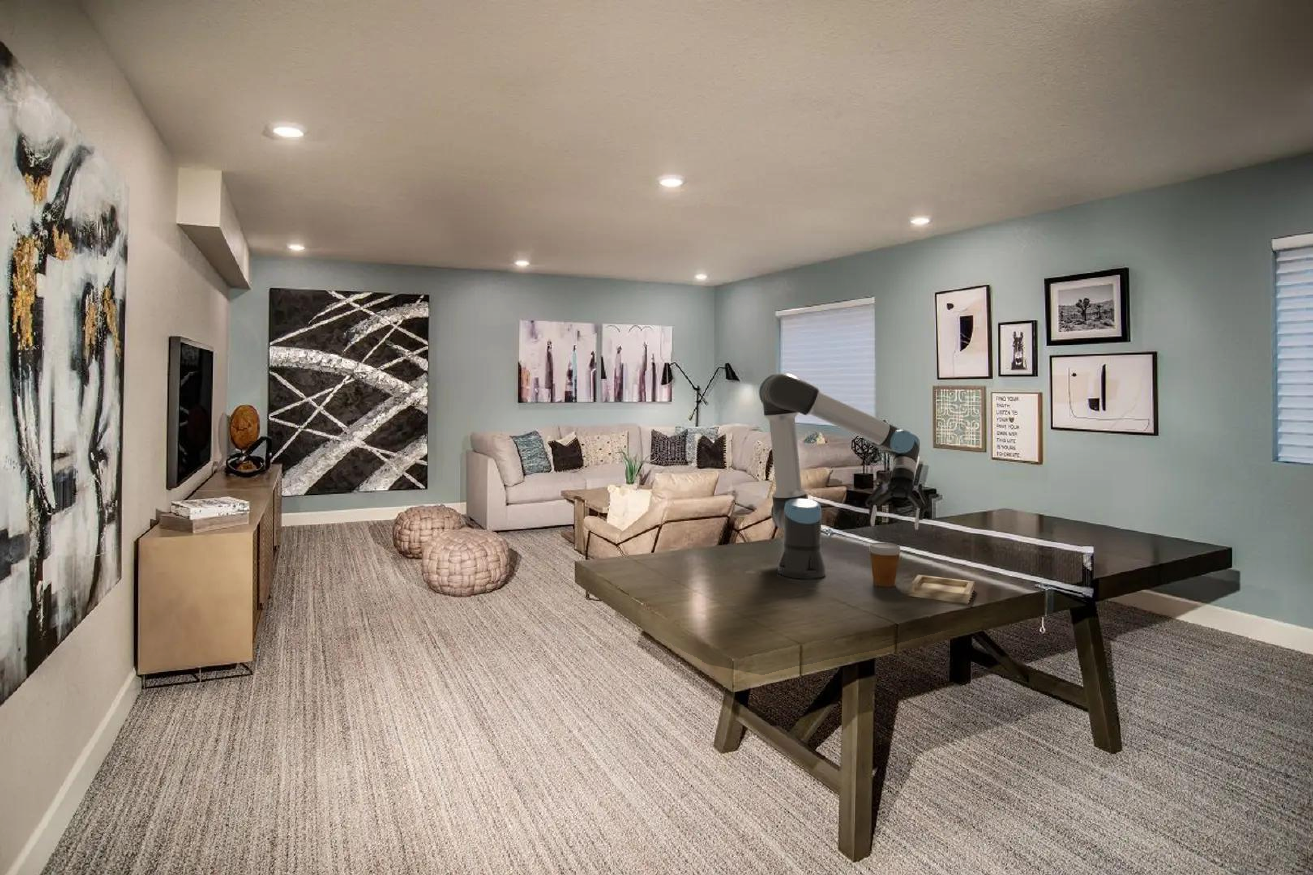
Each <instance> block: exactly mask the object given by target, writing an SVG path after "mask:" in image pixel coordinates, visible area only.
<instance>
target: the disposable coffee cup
mask: <svg viewBox="0 0 1313 875" xmlns="http://www.w3.org/2000/svg"><path fill="white" fill-rule="evenodd" d="M868 550H869V552H870V554H869V555H870V562H871V563H870V564H871V573H872V574H871V575H872V582H873V585H876V586H877V587H894V586H895V584H896V577H897V571H898V567H899V558H900V555H901V552H902V550H901V546H900V545H898V544H896V543H891V542H872V543H871V544H870V545H869V547H868Z"/></svg>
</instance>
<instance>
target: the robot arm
mask: <svg viewBox="0 0 1313 875" xmlns="http://www.w3.org/2000/svg"><path fill="white" fill-rule="evenodd" d="M758 395H759V400H760V402H761V403H762V408H763V417H765V418H766V419H767V420H768V422H769V430H770V431H769V432H770V440H771V452H772V461H773V471H774V472H773V473H774V482H775V491H774V492H773V493H772V496H771V498H772V506H771V510H770V516H771V519H772V521H773V523H774V525H775V526H776V527H777V528H778V529H779V530H780V531H782V532H783V550H782V553H781V556H780V558H779V562H778V566H777V574H779V575H781V574H782V576H784V577H787V578H793V579H800V580H802V579H803V580H810V579H811V580H812V579H819V578H824V577H825V576H826V573H827V572H826V571H827V570H826V569H827V568H826V564H825V562H824V558H823V554H822V552H821V545H822V544H821V543H822V542H821V540H822V518H823V516H822V515H823V513H822V507H821V504H820V503H819V502H817V501H815V500H814V499H813V500H811V499H808V494H807V491H806V490H805V489H803V488H802V480H801V479H802V478H801V468H800V467H801V466H800V458H799V449H798V447H799V446H798V439H797V436H798V435H797V426H796V417H797V416H798V415H799V414H801V415H804V416H809V415H811V416H812V417H816V418H818V419H819V420H820V419H821V420H822V421H825V422H826V423H829V424H831V425H834V426H835V427H839V428H840V429H843V430H845V431H848V432H850V433H852V434H854V435H856V436H858V437H860V438H863V440H864V441H865V442H866V443H868V444H869V445H870V446H873V447H875V448H876V449H878V450H880V451H883V452H885V453H886V454H888V455H890V456H891V457H893V463H892V468H891V473H890V478H889V482H888V483H884V482H883V481H879V483H878V485H877V487H876V488H875V490H873V491H872V493H871V494H870V495H868V497H867V498H866V500H865V501H864V503H865V506H866V507H867V508H869V511H868V515H869V516H870V526H871V527H874V526H875V523H876V522H875V521H876V516H877V512H878V507H879V506H881V505H882V504H883V503H885V502H887V500H890V499H892V498H893V497H894V498H901V499H902V498H907V499H908V500H909V501H910V502H911V503H912V504H913V505H914V506H915V507H916V512H915V520H914V529H915V530H918V531H919V524H920V521H923V520H924V515H925V512H931V505H930V503H929V502H930V501H929V500H928V498H927V496H926V494H925V492H924V488H923V483H918V485H914V483H915V476H916V472H917V464H918V459H919V453H920V450H921V449H920V447H921V446H920V445H921V442H920V439H919V437H918V436H917V435H915V434H913V433H911V432H910V431H908V430H906V429H904V428H899V427H897V426H894V425H892V424H890V423H888V422H886V421H883V420H882V419H879V418H877V417H875V416H873V415H871V414H868V413H865V412H864V411H861V410H859V409H857V408H854V407H853V406H850V405H849V404H846V403H844V402H842V401H841V400H840V401H839V400H837V399H836V398H833V397H830V396H828V395H827V394H824V393H822V392H821V391H820V389H819V387H816V386H814V385H812V384H811V383H809V382H807V381H805V380H803V379H802V378H800V377H798V376H797V375H794V374H791V373H775V374H772V375H768V377H766V378H765V379H764V380H763V381H762V383H761V384H760V386H759V390H758ZM914 491H916V493H918V495H919V497H920V499H921V502H920V500H919V499H918V498H917V497H916V496H915V495H914V494H913V492H914Z"/></svg>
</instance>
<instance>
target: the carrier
mask: <svg viewBox="0 0 1313 875" xmlns="http://www.w3.org/2000/svg"><path fill="white" fill-rule="evenodd" d="M973 591H975V580H973V581H972V580H963V579H957V578H948V577H940V576H932V575H922V574H917V575H916V577H915V578H914V579H913V580H912V582H911V584H910V585H909V586H908V597H914V598H922V599H929V600H936V601H937V600H938V601H944V602H951V603H952V602H953V603H959V604H964V605H965V604H967V605H968V603H970V601H971V599H972V596H973V594H974V592H973ZM972 593H973V594H972ZM970 598H971V599H970ZM969 600H970V601H969Z"/></svg>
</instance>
